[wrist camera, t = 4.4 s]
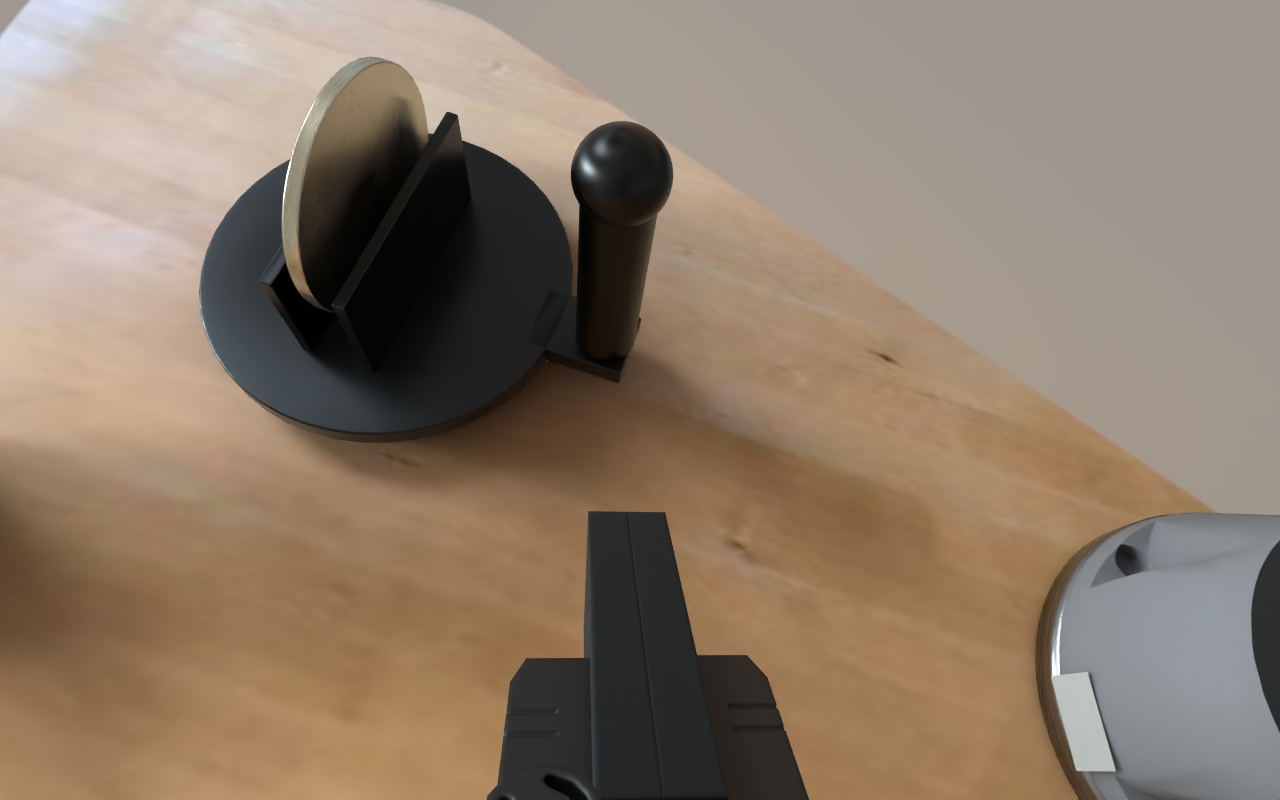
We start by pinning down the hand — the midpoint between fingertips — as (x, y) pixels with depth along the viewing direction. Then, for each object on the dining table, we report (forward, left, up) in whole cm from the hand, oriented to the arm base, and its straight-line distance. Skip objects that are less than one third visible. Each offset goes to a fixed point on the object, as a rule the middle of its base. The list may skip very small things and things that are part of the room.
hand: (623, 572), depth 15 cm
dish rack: (+10, -14, -15) cm, 23 cm away
